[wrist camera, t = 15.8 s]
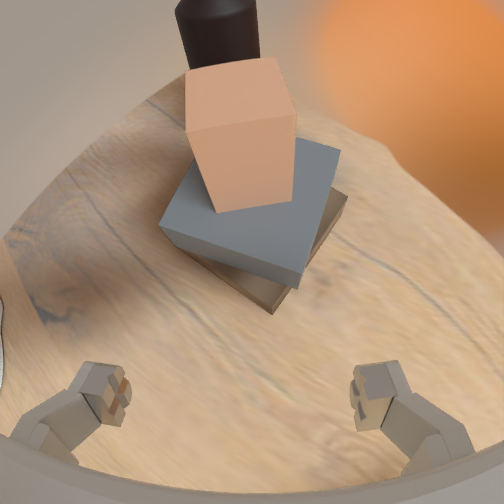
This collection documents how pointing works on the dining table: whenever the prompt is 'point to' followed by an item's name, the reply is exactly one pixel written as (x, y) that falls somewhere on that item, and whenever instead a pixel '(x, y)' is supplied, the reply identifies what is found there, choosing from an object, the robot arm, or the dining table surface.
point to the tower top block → (256, 220)
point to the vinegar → (218, 31)
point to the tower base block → (263, 289)
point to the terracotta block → (242, 132)
